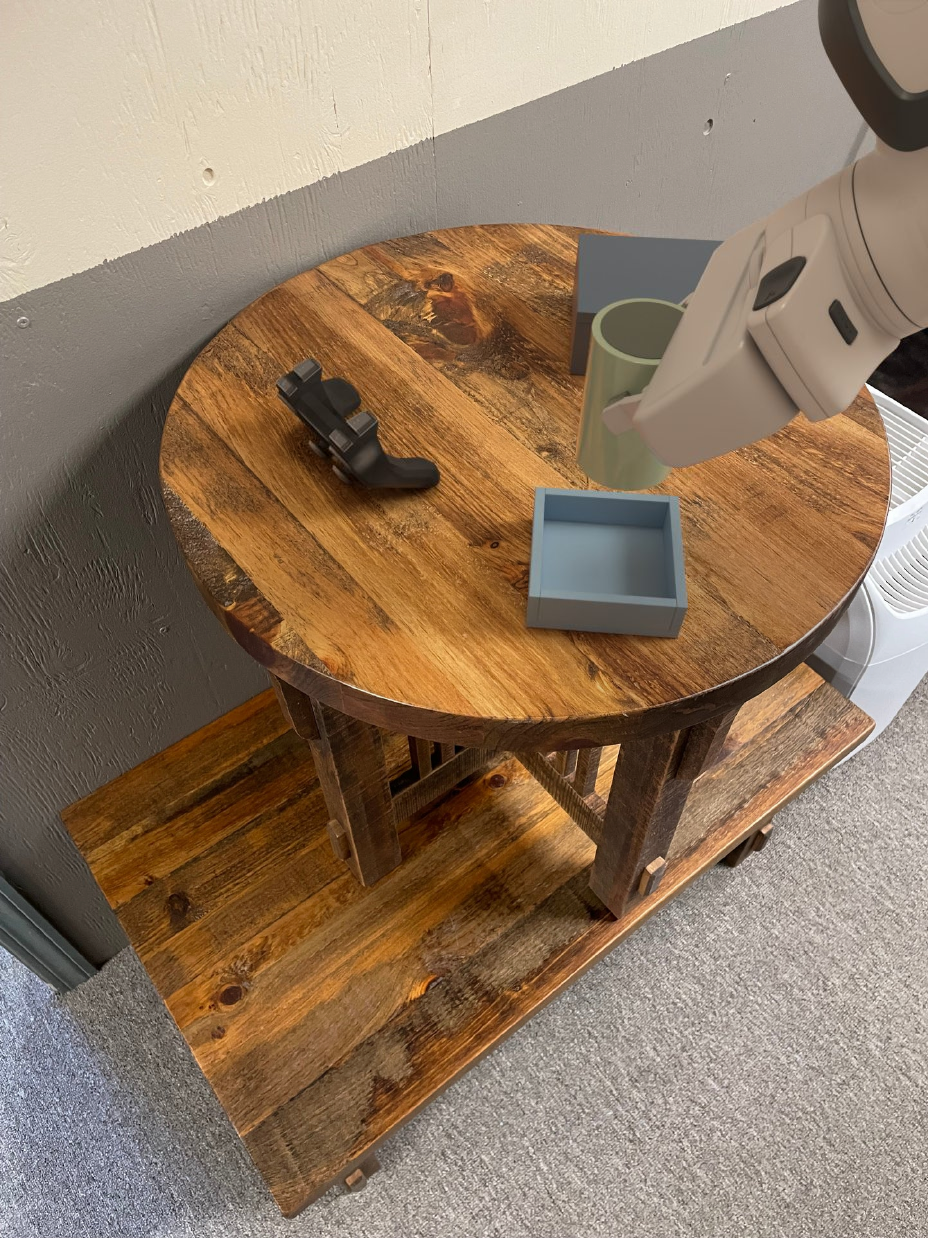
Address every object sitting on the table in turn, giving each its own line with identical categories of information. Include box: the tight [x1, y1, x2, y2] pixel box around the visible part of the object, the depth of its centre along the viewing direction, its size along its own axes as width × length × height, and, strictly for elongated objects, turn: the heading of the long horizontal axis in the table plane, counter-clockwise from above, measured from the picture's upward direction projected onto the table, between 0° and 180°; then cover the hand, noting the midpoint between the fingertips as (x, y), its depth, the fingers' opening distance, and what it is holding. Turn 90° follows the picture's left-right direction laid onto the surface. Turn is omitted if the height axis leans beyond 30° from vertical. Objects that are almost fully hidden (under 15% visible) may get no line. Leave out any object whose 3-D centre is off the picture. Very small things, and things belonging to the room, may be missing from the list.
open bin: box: [525, 486, 689, 639], centre depth 68 cm, size 12×12×4 cm
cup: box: [574, 298, 686, 492], centre depth 56 cm, size 7×7×10 cm
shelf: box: [569, 233, 725, 376], centre depth 87 cm, size 18×14×7 cm
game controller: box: [275, 357, 441, 491], centre depth 75 cm, size 16×7×10 cm, turn 37°
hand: (628, 381), depth 55 cm, fingers closed on cup, 7 cm apart
